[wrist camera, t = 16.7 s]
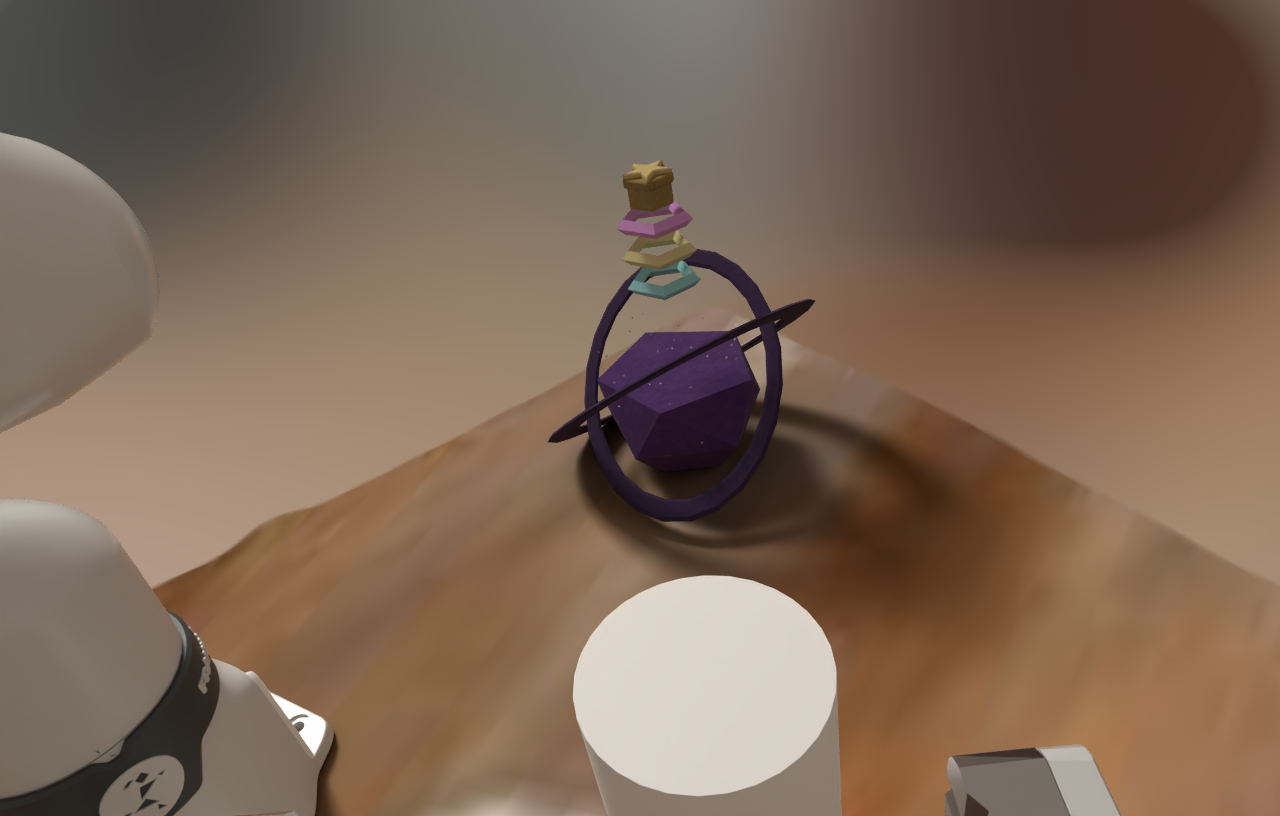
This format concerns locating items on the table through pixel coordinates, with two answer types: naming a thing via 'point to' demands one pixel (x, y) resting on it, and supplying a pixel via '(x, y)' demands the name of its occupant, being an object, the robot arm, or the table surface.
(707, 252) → the decorative bottle
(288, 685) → the table surface
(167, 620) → the robot arm
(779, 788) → the cylindrical container
